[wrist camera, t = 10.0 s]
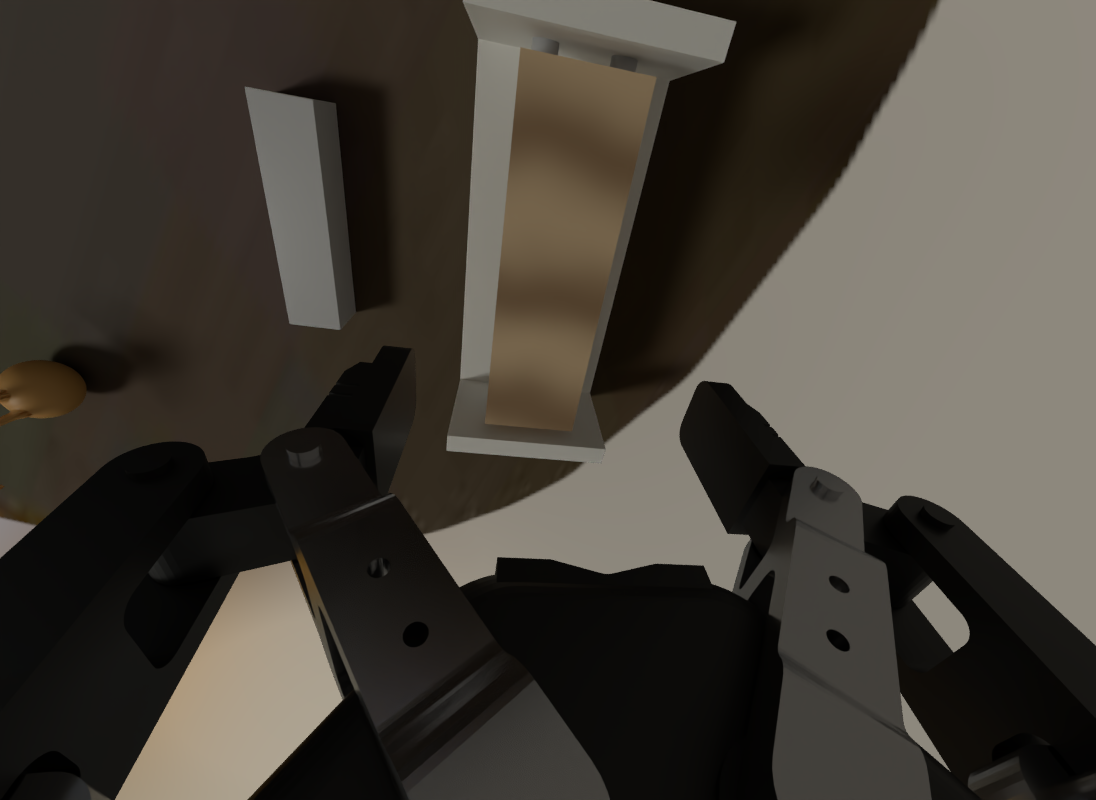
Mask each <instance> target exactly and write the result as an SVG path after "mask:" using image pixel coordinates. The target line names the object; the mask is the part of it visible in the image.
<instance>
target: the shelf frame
mask: <svg viewBox="0 0 1096 800" xmlns="http://www.w3.org/2000/svg"><path fill="white" fill-rule="evenodd" d="M463 3H464V6H465V8H466V10H467V13H468V15H469V18H470V20H471V22H472V25H473V27H474V29H475V32H476V34H477V37H478V55H477V74H476V93H475V112H474V131H473V150H472V169H471V188H470V206H469V225H468V244H467V263H466V282H465V301H464V320H463V338H462V357H461V376H460V383H459V387H458V392H457V396H456V400H455V404H454V409H453V413H452V417H451V422H450V426H449V430H448V435H447V451H456V452H469V453H481V454H493V455H505V456H518V457H530V458H542V459H554V460H567V461H579V462H591V463H601V462H602V459H603V456H604V452H605V446H604V442H603V439H602V435H601V431H600V428H599V424H598V420H597V417H596V413H595V410H594V406H593V402H592V399H591V395H590V391H591V387H592V383H593V379H594V375H595V371H596V367H597V363H598V360H599V356H600V352H601V348H602V344H603V340H604V336H605V332H606V328H607V324H608V320H609V316H610V313H611V309H612V305H613V301H614V297H615V293H616V289H617V285H618V281H619V277H620V273H621V269H622V266H623V262H624V258H625V254H626V250H627V246H628V242H629V238H630V234H631V230H632V226H633V222H634V219H635V215H636V211H637V207H638V203H639V199H640V195H641V191H642V187H643V183H644V179H645V175H646V172H647V168H648V164H649V160H650V156H651V152H652V148H653V144H654V140H655V136H656V132H657V128H658V125H659V121H660V117H661V113H662V109H663V105H664V101H665V97H666V93H667V89H668V85H669V81H671V80H674V79H677V78H680V77H683V76H686V75H689V74H692V73H695V72H698V71H701V70H704V69H707V68H710V67H713V66H716V65H718V64H721V63H724V61H725V58H726V54H727V51H728V48H729V45H730V41H731V38H732V35H733V31H734V28H735V25H736V22H735V21H731V20H727V19H723V18H719V17H715V16H711V15H707V14H703V13H699V12H695V11H691V10H687V9H683V8H679V7H675V6H671V5H667V4H663V3H659V2H655V1H651V0H463ZM520 47H522V48H526V49H531V50H536V51H540V52H545V53H549V54H554V55H558V56H563V57H567V58H572V59H577V60H581V61H586V62H590V63H595V64H599V65H604V66H609V67H613V68H618V69H622V70H627V71H631V72H636V73H640V74H645V75H650V76H654V77H657V78H656V82H655V86H654V91H653V95H652V99H651V103H650V107H649V112H648V116H647V120H646V124H645V128H644V132H643V137H642V141H641V145H640V149H639V153H638V157H637V162H636V166H635V170H634V174H633V178H632V183H631V187H630V191H629V195H628V199H627V203H626V208H625V212H624V216H623V220H622V224H621V228H620V233H619V237H618V241H617V245H616V249H615V254H614V258H613V262H612V266H611V270H610V274H609V279H608V283H607V287H606V291H605V295H604V300H603V304H602V308H601V312H600V316H599V320H598V325H597V329H596V333H595V337H594V341H593V345H592V350H591V354H590V358H589V362H588V366H587V371H586V375H585V379H584V383H583V387H582V391H581V396H580V400H579V404H578V408H577V412H576V416H575V421H574V425H573V429H572V432H571V431H560V430H549V429H538V428H527V427H516V426H505V425H494V424H485V417H486V406H487V395H488V385H489V374H490V364H491V353H492V342H493V332H494V321H495V311H496V300H497V289H498V279H499V268H500V258H501V247H502V236H503V226H504V215H505V205H506V194H507V183H508V173H509V162H510V152H511V141H512V131H513V120H514V109H515V99H516V88H517V78H518V67H519V56H520Z"/></svg>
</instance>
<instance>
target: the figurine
mask: <svg viewBox="0 0 1096 800" xmlns="http://www.w3.org/2000/svg"><path fill="white" fill-rule="evenodd" d="M86 391H87V389H86V384H85V381H84V379H83V378H82V377H81V375H80V374H79V373H78V372H76V371H75V370H74V369H72V368H70V367H68V366H66V365H64V364H61V363H57V362H53V361H45V360H33V361H26V362H22V363H18V364H16V365H13V366H11V367H9V368H8V369H6V370H5V371H3V372H2V373H1V374H0V403H1V404H2V405H3V406H4V407H5V408H7V409H8V410H10V413H8V414H6V415H4V416H2V417H0V426H2V425H4V424H7V423H9V422H12V421H14V420H17V419H22V418H27V417H32V418H51V417H57V416H61V415H64V414H66V413H69V412H71V411H72V410H74V409H75V408H77V407H78V406H79V405H80V404H81V403H82V402H83V400H84V398H85V396H86ZM1 486H2V485H0V489H2V488H3V487H4V486H2V487H1Z"/></svg>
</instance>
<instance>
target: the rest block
mask: <svg viewBox="0 0 1096 800" xmlns="http://www.w3.org/2000/svg"><path fill="white" fill-rule="evenodd" d="M245 91H246V96H247V102H248V107H249V112H250V117H251V123H252V128H253V133H254V138H255V144H256V149H257V154H258V159H259V165H260V170H261V175H262V181H263V186H264V191H265V196H266V202H267V207H268V212H269V217H270V223H271V228H272V233H273V238H274V244H275V249H276V254H277V259H278V265H279V270H280V275H281V280H282V286H283V291H284V296H285V301H286V307H287V312H288V317H289V322H290V324H295V325H303V326H312V327H320V328H329V329H337V330H341V329H342V327H343V326H344V325H345V324H346V323H347V322H348V321H349V320H350V318H351V317H352V316H353V315H354V314H355V313H356V309H355V298H354V288H353V278H352V267H351V257H350V246H349V236H348V225H347V215H346V205H345V194H344V184H343V173H342V163H341V153H340V142H339V132H338V121H337V111H336V103H331V102H326V101H321V100H316V99H310V98H305V97H300V96H295V95H289V94H284V93H279V92H273V91H267V90H261V89H255V88H249V87H245Z"/></svg>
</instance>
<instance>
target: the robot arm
mask: <svg viewBox="0 0 1096 800" xmlns="http://www.w3.org/2000/svg"><path fill="white" fill-rule="evenodd" d="M415 408H416V373H415V352H414V349H411V348H401V347H392V346H383V347H382V348H381V350H380V351H379V353H378V355H377V356H376V358H375V360H374V361H373V363H366V362H359V363H358V364H356V365H354V366H353V367H351V368H349V369H347V370H346V371H344V373H343V374H342V375H341V377H340V378H339V380H338V381H337V383H336V385H334V387H333V388H332V390H331V391H330V392H329V395H327V397H326V398H325V399H324V401H323V402H322V404H321V405H320V407H319V408H318V409H317V411H316V412H315V414H314V415H313V416H312V418H311V419H310V421H309V422H308V423H307V425H306V426H305V428H300V429H296V430H292V431H289V432H286V433H284V434H282V435H280V436H278V437H276V438H274V439H273V440H272V441H270V442H269V443H268V444H267V445H266V446H265V447H264V449H263V450H262V452H261V455H258V456H253V457H247V458H239V459H232V460H224V461H216V462H209V463H208V461H207V458H206V456H205V453H204V451H203V450H202V449H201V448H200V447H198V446H196V445H194V444H191V443H186V442H161V443H156V444H150V445H147V446H143V447H139V448H136V449H133V450H131V451H129V452H126V453H124V454H122V455H120V456H118V457H116V458H114V459H113V460H111V461H109V462H108V463H107V464H105V465H104V466H103V467H102V468H100V469H99V470H98V471H97V472H96V473H95V474H94V475H93V476H92V477H90V478H89V479H88V480H87V481H86V482H85V483H84V484H83V485H82V486H80V487H79V488H78V489H77V490H76V491H75V492H74V493H73V494H71V495H70V496H69V497H68V498H67V499H66V500H65V501H64V502H63V503H61V504H60V505H59V506H58V507H57V508H56V509H55V510H54V511H52V512H51V513H50V514H49V515H48V516H47V517H46V518H45V519H44V520H42V521H41V522H40V523H39V524H38V525H37V526H36V527H35V528H34V529H32V530H31V531H30V532H29V533H28V534H27V535H26V536H25V537H24V538H22V540H20V541H19V542H18V543H17V544H16V545H15V546H13V547H12V548H11V549H10V550H9V551H8V552H7V553H6V554H5V555H4V556H2V557H1V558H0V800H115V798H116V796H117V795H118V793H119V791H120V789H121V787H122V785H123V784H124V782H125V780H126V778H127V776H128V775H129V773H130V771H131V769H132V767H133V765H134V763H135V762H136V760H137V758H138V756H139V755H140V753H141V751H142V749H143V747H144V745H145V744H146V742H147V740H148V738H149V736H150V734H151V733H152V731H153V729H154V727H155V725H156V724H157V722H158V720H159V718H160V716H161V714H162V713H163V711H164V709H165V707H166V705H167V704H168V702H169V700H170V698H171V696H172V694H173V693H174V691H175V689H176V687H177V685H178V683H179V682H180V680H181V678H182V676H183V674H184V673H185V671H186V669H187V667H188V665H189V663H190V662H191V660H192V658H193V656H194V654H195V653H196V651H197V649H198V647H199V645H200V643H201V641H202V640H203V638H204V636H205V634H206V632H207V631H208V629H209V627H210V625H211V623H212V622H213V620H214V618H215V616H216V614H217V612H218V610H219V609H220V607H221V605H222V603H223V601H224V600H225V598H226V596H227V594H228V592H229V591H230V589H231V587H232V585H233V583H234V581H235V580H236V578H237V576H238V574H239V572H242V571H246V570H251V569H255V568H260V567H264V566H269V565H273V564H278V563H282V562H286V561H291V564H292V567H293V569H294V572H295V574H296V577H297V579H298V582H299V584H300V587H301V589H302V592H303V595H304V597H305V600H306V602H307V605H308V607H309V610H310V613H311V615H312V617H313V620H314V623H315V625H316V628H317V631H318V633H319V636H320V639H321V642H322V645H323V648H324V651H325V653H326V656H327V659H328V662H329V665H330V668H331V670H332V673H333V675H334V678H335V681H336V684H337V686H338V689H339V691H340V694H341V697H342V699H343V700H342V702H341V703H340V704H339V705H338V706H337V707H336V708H335V709H334V710H333V711H332V712H331V713H330V714H329V715H328V716H327V717H326V718H325V719H324V720H323V721H322V722H321V723H320V725H319V726H318V727H317V728H316V729H315V730H314V731H313V732H312V733H311V734H310V735H309V736H308V737H307V738H306V739H305V740H304V741H303V742H302V743H301V744H300V745H299V746H298V748H297V749H296V750H295V751H294V752H293V753H292V754H291V755H290V756H289V757H288V758H287V759H286V760H285V761H284V762H283V763H282V765H280V766H279V767H278V768H277V769H276V771H275V772H274V773H273V774H272V775H271V776H270V777H269V778H268V779H267V780H266V781H265V782H264V783H263V784H262V785H261V786H260V787H259V788H258V789H257V790H256V791H255V792H254V794H253V795H252V796H251V797H250V798H249V799H248V800H1096V646H1095V645H1094V644H1093V643H1092V642H1091V641H1090V640H1089V639H1088V638H1087V637H1086V636H1085V635H1084V634H1083V633H1082V632H1080V631H1079V630H1078V629H1077V628H1076V627H1075V626H1074V625H1073V624H1072V623H1071V622H1070V621H1069V620H1068V619H1066V618H1065V617H1064V616H1063V615H1062V614H1061V613H1060V612H1059V611H1058V610H1057V609H1056V608H1055V607H1054V606H1052V605H1051V604H1050V603H1049V602H1048V601H1047V600H1046V599H1045V598H1044V597H1043V596H1042V595H1041V594H1040V593H1039V592H1037V591H1036V590H1035V589H1034V588H1033V587H1032V586H1031V585H1030V584H1029V583H1028V582H1026V580H1025V579H1023V578H1022V577H1021V576H1020V575H1019V574H1018V573H1017V572H1016V571H1015V570H1014V569H1013V568H1012V567H1011V566H1009V565H1008V564H1007V563H1006V562H1005V561H1004V560H1003V559H1002V558H1001V557H1000V556H999V555H997V553H996V552H994V551H993V550H992V549H991V548H990V547H989V546H988V545H987V544H986V543H985V542H984V541H983V540H982V539H980V538H979V537H978V536H977V535H976V534H975V533H974V532H973V531H972V530H971V529H970V528H969V527H968V526H966V525H965V524H964V523H963V522H962V521H961V520H960V519H959V518H957V517H956V516H955V515H953V514H952V513H950V512H949V511H947V510H946V509H944V508H942V507H940V506H938V505H936V504H934V503H932V502H930V501H927V500H925V499H922V498H918V497H914V496H902V497H900V498H899V499H898V500H897V501H896V502H895V503H894V504H893V506H892V507H891V508H890V509H889V510H886V509H882V508H879V507H876V506H872V505H869V504H866V503H863V502H862V501H861V498H860V496H859V495H858V493H857V492H856V491H855V490H854V489H853V488H852V487H851V486H850V485H849V484H847V483H846V482H845V481H843V480H842V479H840V478H839V477H837V476H835V475H833V474H831V473H829V472H827V471H824V470H822V469H818V468H814V467H806V466H805V465H804V464H803V463H802V462H801V461H800V459H799V458H798V457H797V456H796V455H795V454H794V452H793V451H792V450H791V449H790V448H789V447H788V445H787V444H786V443H785V442H784V441H783V440H782V438H781V437H778V434H777V433H776V431H775V430H774V429H773V428H772V427H770V424H768V422H767V421H766V420H765V419H764V417H763V416H762V415H761V414H760V413H759V412H758V411H756V410H755V409H753V408H752V407H750V406H749V405H748V404H746V403H745V401H744V400H743V399H742V398H741V397H740V395H739V394H738V393H737V392H736V391H735V389H734V388H733V387H732V386H731V385H729V384H727V383H716V382H708V381H702V382H701V383H700V384H699V385H698V386H697V388H696V390H695V392H694V395H693V397H692V400H691V402H690V404H689V407H688V409H687V411H686V414H685V416H684V419H683V421H682V424H681V427H680V442H681V445H682V447H683V449H684V451H685V453H686V455H687V457H688V458H689V460H690V462H691V464H692V466H693V468H694V470H695V472H696V474H697V476H698V478H699V480H700V482H701V483H702V485H703V487H704V489H705V491H706V493H707V495H708V497H709V498H710V500H711V502H712V504H713V506H714V508H715V510H716V512H717V514H718V516H719V518H720V520H721V522H722V524H723V526H724V527H725V529H726V531H727V533H728V534H743V535H749V536H750V538H751V539H750V541H749V542H748V544H747V545H746V547H745V549H744V552H743V556H742V559H741V563H740V567H739V570H738V574H737V577H736V581H735V584H734V588H733V591H732V592H731V591H729V590H726V589H724V588H721V587H719V586H716V585H713V584H711V582H710V579H709V577H708V575H707V572H706V570H705V568H704V566H697V565H672V564H653V565H648V566H644V567H640V568H635V569H631V570H626V571H622V572H618V573H613V574H602V573H598V572H594V571H591V570H587V569H583V568H580V567H576V566H573V565H569V564H565V563H562V562H558V561H554V560H551V559H525V558H502V557H498V558H497V564H496V571H495V575H491V576H487V577H483V578H480V579H478V580H475V581H472V582H470V583H468V584H466V585H463V586H461V587H459V586H458V585H457V584H456V582H455V581H454V579H453V578H452V576H451V575H450V573H449V572H448V570H447V569H446V567H445V566H444V565H443V563H442V562H441V560H440V559H439V557H438V556H437V554H436V553H435V551H434V550H433V549H432V547H431V546H430V544H429V543H428V541H427V540H426V538H425V537H424V535H423V534H422V532H421V531H420V530H419V528H418V527H417V525H416V524H415V522H414V521H413V519H412V518H411V516H410V515H409V513H408V512H407V511H406V509H405V508H404V506H403V505H402V503H401V502H400V500H399V499H398V498H397V497H396V496H395V495H394V494H392V493H389V494H388V491H389V488H390V485H391V482H392V479H393V477H394V474H395V471H396V468H397V465H398V463H399V460H400V457H401V454H402V451H403V448H404V446H405V443H406V440H407V437H408V434H409V431H410V429H411V426H412V423H413V420H414V415H415ZM932 581H934V583H935V584H936V585H937V586H938V587H939V589H941V591H942V592H943V593H944V594H945V595H946V597H947V598H948V599H949V600H950V601H951V602H952V603H953V605H954V606H955V607H956V608H957V609H958V610H959V611H960V613H961V614H962V615H963V616H964V618H965V620H966V621H967V624H968V626H969V630H970V636H969V640H968V642H967V643H966V644H965V645H964V646H963V647H961V648H960V649H958V650H957V651H956V652H954V653H953V651H952V650H951V649H950V648H949V646H948V645H947V644H946V643H945V641H944V640H943V639H942V638H941V636H940V635H939V634H938V632H937V631H936V630H935V629H934V627H933V626H932V625H931V623H930V622H929V621H928V620H927V618H926V617H925V616H924V615H923V613H922V612H921V611H920V609H919V608H918V607H917V606H916V604H915V603H914V602H913V601H912V599H913V598H914V597H915V596H916V595H918V594H919V593H920V592H921V591H922V590H923V589H924V588H926V587H927V586H928V585H929V584H930V583H931V582H932ZM900 692H901V694H902V696H903V697H904V699H905V700H906V702H907V703H908V705H909V707H910V708H911V710H912V711H913V713H914V715H915V716H916V717H917V719H918V721H919V722H920V724H921V726H922V727H923V729H924V730H925V732H926V733H927V735H928V736H929V738H930V740H931V741H932V743H933V744H934V746H935V747H936V749H937V751H938V752H939V754H940V755H941V757H942V759H943V760H944V762H945V763H946V765H947V766H948V768H949V769H950V771H951V772H950V771H949V770H947V769H946V768H945V767H944V766H943V765H942V764H940V763H939V762H938V761H937V760H936V759H935V758H934V757H932V756H931V755H930V754H929V753H928V752H927V751H925V750H924V749H923V748H922V747H921V746H920V745H918V744H917V743H916V742H915V741H914V740H913V739H912V738H911V737H910V736H909V735H908V733H907V732H906V729H905V727H904V722H903V715H902V706H901V696H900Z"/></svg>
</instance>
